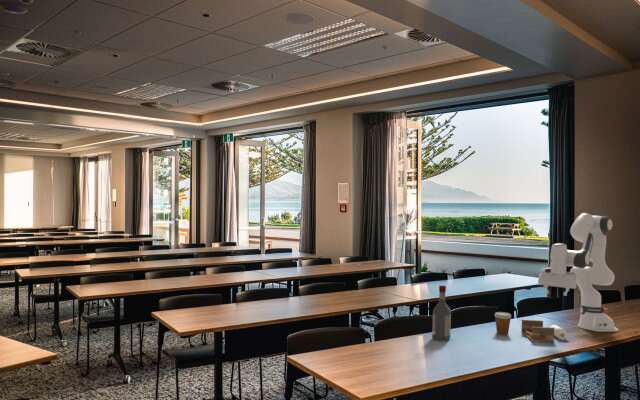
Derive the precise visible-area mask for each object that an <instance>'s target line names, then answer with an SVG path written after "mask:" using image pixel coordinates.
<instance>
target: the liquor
mask: <svg viewBox="0 0 640 400" xmlns="http://www.w3.org/2000/svg"><path fill="white" fill-rule="evenodd" d="M446 286H447V285H439V286H438V291H439V292H438V293H439V295H438V297H439V298H438V303H437V304H436V306H435V307H434V308H433V309H432V325H431V326H432V327H431V328H432V330H431V337H432V339H433V340H435V341H440V342H448V341H449V340H450V339H451V327H452V325H451V323H452V322H451V319H452V310H451V307H449V305H448V304H447V303H446V290H447V289H446V288H447V287H446Z"/></svg>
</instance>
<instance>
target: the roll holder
mask: <svg viewBox="0 0 640 400" xmlns="http://www.w3.org/2000/svg"><path fill="white" fill-rule="evenodd" d="M521 334H522V335H523V336H524V337H526V339H528V340H529V341H530V342H532V343H553V344H554V343H555V336H554V328H550V326H549V327H546V326H544V320H541V319H540V320H537V319H535V320H534V319H533V320H532V319H521Z"/></svg>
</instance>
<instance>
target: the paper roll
mask: <svg viewBox="0 0 640 400" xmlns="http://www.w3.org/2000/svg"><path fill="white" fill-rule="evenodd" d="M549 327H550V328H554V338H556V339H559V340H560V341H565V340H567V339H568V338H569V337H568V336H569V334H568V332H567V331H568V330H565V329H563V327H560V326H558V325H557V324H551V325H550V326H549Z"/></svg>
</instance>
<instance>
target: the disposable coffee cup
mask: <svg viewBox="0 0 640 400" xmlns="http://www.w3.org/2000/svg"><path fill="white" fill-rule="evenodd" d="M494 318H495V328H496V334H497V335H501V336H508V335H509V330H510V324H511V319H512V315H511V313H509V312H502V311H497V312H495V313H494Z"/></svg>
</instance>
